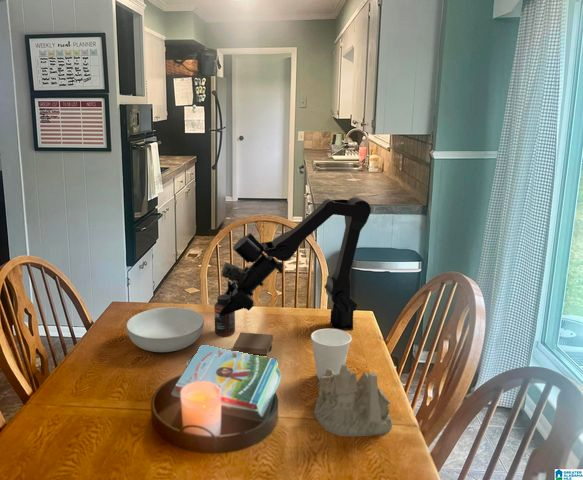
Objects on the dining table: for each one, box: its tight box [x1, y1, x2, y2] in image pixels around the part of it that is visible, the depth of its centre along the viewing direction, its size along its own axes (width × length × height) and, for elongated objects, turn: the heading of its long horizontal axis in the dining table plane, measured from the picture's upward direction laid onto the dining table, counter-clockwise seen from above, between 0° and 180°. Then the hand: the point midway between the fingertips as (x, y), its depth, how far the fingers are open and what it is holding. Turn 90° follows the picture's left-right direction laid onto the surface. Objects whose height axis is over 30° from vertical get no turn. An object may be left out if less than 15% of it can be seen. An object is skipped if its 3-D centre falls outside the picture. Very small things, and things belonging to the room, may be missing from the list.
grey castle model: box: [313, 363, 393, 438], centre depth 112 cm, size 16×16×15 cm
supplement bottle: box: [213, 293, 236, 337], centre depth 152 cm, size 6×6×11 cm
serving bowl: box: [125, 306, 205, 353], centre depth 144 cm, size 21×21×7 cm
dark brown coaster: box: [232, 331, 274, 357], centre depth 140 cm, size 9×9×4 cm
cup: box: [310, 328, 353, 380], centre depth 128 cm, size 10×10×11 cm
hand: (219, 310), depth 151 cm, fingers closed on supplement bottle, 6 cm apart
